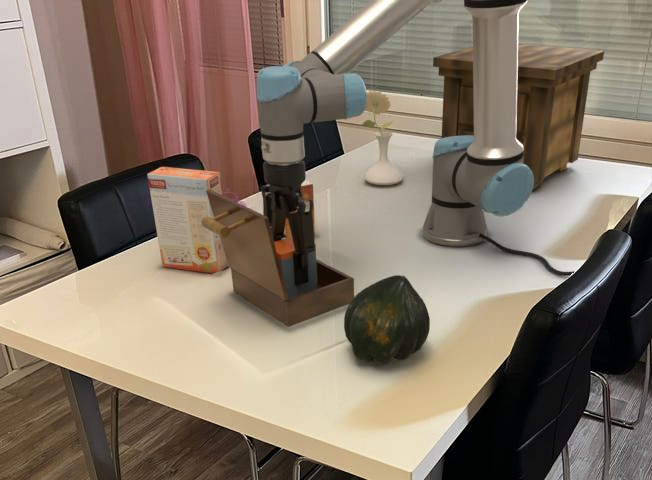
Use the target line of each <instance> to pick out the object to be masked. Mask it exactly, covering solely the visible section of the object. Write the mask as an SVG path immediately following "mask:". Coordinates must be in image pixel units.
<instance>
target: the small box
mask: <svg viewBox="0 0 652 480" xmlns="http://www.w3.org/2000/svg"><path fill="white" fill-rule="evenodd" d="M301 190H302V193H303V198H305V199H306V200H312V201H313V210H312V217H313V228H314V237H316V226H315V225H316V223H315V222H316V221H315V201H314V199H315V198H314V197H315V196H314V183H312V182H311V181H309V180H307V179H305V181H304V182H303V183H302V185H301ZM294 212H297V210H296V211H293V212H290V213H294ZM284 234H285V235H286V236H287V237H286V238H289V237H292V234H291V230H290V226H289V221H288V219H287V218H286V222H285V230H284ZM286 238H282V240H283V239H286Z"/></svg>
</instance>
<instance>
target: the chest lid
mask: <svg viewBox="0 0 652 480" xmlns="http://www.w3.org/2000/svg"><path fill="white" fill-rule="evenodd" d="M206 192H207V195H208V199H209V202H210V205H211V209H212V212H213V215H214V217H213V218H210V217H204V218H203V219H202V226H203V227H205V228H206V229H208V230H210V231H212V232H214V233H215V234H217V235H219V236H220V239H221V242H222V245H223V249H224V252H225V255H226V259H227V262H228V268H230V270H231V269H233V270H235V271H236V272H238V273H240V274H241V275H243V276H245V277H246V278H248V279H250V280H251V281H253V282H255V283H256V284H258V285H260V286H261V287H263V288H265V289H266V290H268V291H270V292H271V293H273V294H275V295H276V296H278V297H280V298H281V299H283V300H285V301H286V300H287V299H288V295H287V291H286V287H285V283H284V279H283V275H282V271H281V267H280V263H279V259H278V255H277V251H276V247H275V243H274V239H273V235H272V231H271V227H270V223H269V219H268V217H266V216H264V214H262V213H260V212H258V211H256V210H254V209H252V208H250V207H248V206H247V205H246V206H244V204H243V205H241V204H240V203H239V202H238V203H237V202H235V201H233V200H234V199H233V200H231V199H232V198H229V197H228V196H225V195H223V194H222V195H221V194H219V193H217V192H214V191H212V190H210V189H209V190H207V191H206Z"/></svg>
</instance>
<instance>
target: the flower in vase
mask: <svg viewBox="0 0 652 480" xmlns="http://www.w3.org/2000/svg"><path fill="white" fill-rule="evenodd" d="M366 93H367V103H366V107H365V110H364V111H367V112H368V113H373V120H370V119H366V120H365V121H363V122H362V124H361V126H363V127H367V128H371V129H372V128H374V127H375V126H376V128H377V130H378V131H377V132H375V133H374V136H375V137H376V139H377V141H378V147H379V157H378V160H377V162H375V163H374V164H373V165H372V166H371V167H369V168H368V169H367V170H366V171H365V173H364V174H363V179H364V181H365V182H367V183H369V184H372V185H376V186H390V185H395V184H398V183H400V182H401V181H402V180H403V179H404V174H403V172H402V171H401V170H400V169H399V168H398V167H397V166H395V165H394V164H393V163H392V162H391V161H390V159H389V156H388V155H389V154H388V150H389V142H390V140H391V138H392V137H393V135H394V134H393V133H392V132H391V131H382V130H384V129H387V128H389V127H390V126H391V125H392V123H393V120H391V121H390V122H386V123H384V124H383V125H382V126H381V127H380V126H379V125H378V124H377V120H376V115H381V114H385V113H387V112H389V109H390V107H391V101H390V100H389V98H390V97H388V96H387V94H385V93H384V94H383V93H382V91H380V90H379V91H377V90H373V91H372V90H369V91H368V92H366Z"/></svg>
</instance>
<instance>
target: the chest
mask: <svg viewBox="0 0 652 480" xmlns="http://www.w3.org/2000/svg"><path fill="white" fill-rule="evenodd" d="M316 263H317V285H318V289H317V290H314V291H311V292H308V293H305V294H303V295H300V296H297V297H294V298H291V299H289V300H288V299H287V300H286V301H285V300H283V299H281V298H280V297H278V296H276V295H275V294H273V293H271V292H270V291H268V290H266V289H265V288H263V287H261V286H260V285H258V284H256V283H255V282H253V281H251V280H250V279H248V278H246V277H245V276H243V275H241V274H240V273H238V272H236V271H235V270H233V269H231V268H230V272H231V282H232V290H233V293H235V294H237V295H238V296H240V297H241V298H243V299H244V300H246V301H247V302H249V303H251V304H252V305H254V306H255V307H257V308H259V309H260V310H262V311H263V312H265V313H267V314H268V315H270V316H271V317H273V318H274V319H275V320H277V321H279V322H280V323H282V324H283V325H285V326H286V327H292V326H294V325H297V324H300V323H303V322H306V321H308V320H310V319H313V318H316V317H318V316H321V315H323V314H326V313H329V312H332V311H334V310H336V309H339V308H341V307H345V306H347V305H349V304H350V303H351V302H352V300H353V299H354V297H355V278H354V277H352V276H351V275H348V274H346V273H344V272H343V271H342V270H341V271H340V270H339V269H337V268H335V267H333V266H331V265H329V264H328V263H325V262H323V261H321V260H319V259H317V258H316Z"/></svg>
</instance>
